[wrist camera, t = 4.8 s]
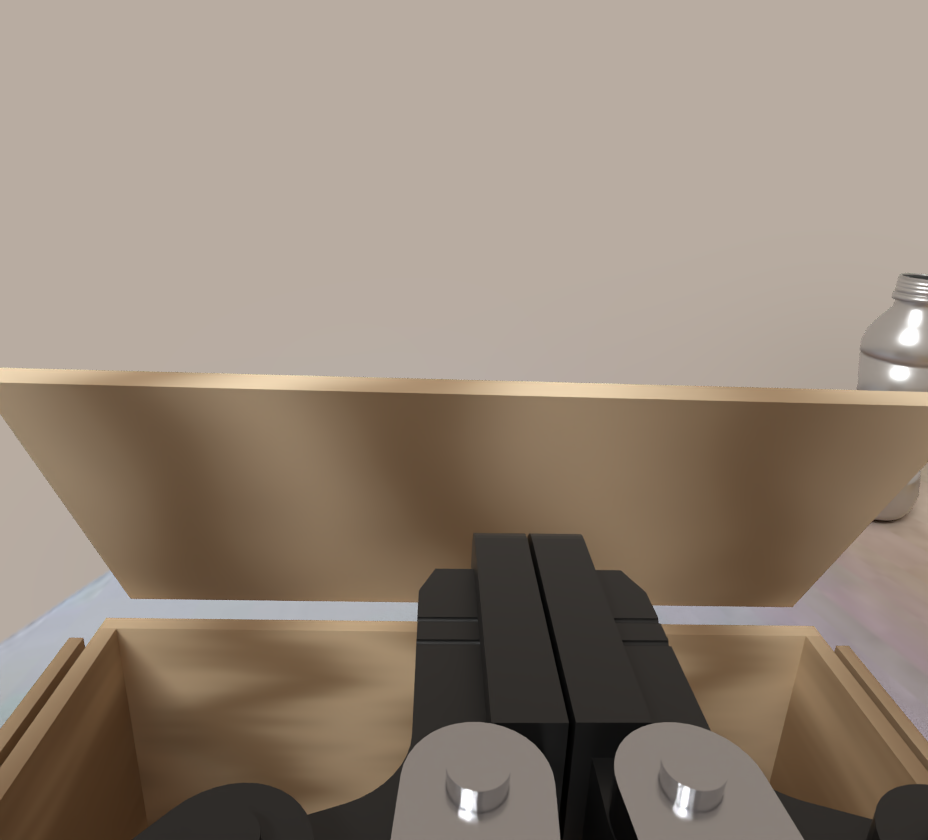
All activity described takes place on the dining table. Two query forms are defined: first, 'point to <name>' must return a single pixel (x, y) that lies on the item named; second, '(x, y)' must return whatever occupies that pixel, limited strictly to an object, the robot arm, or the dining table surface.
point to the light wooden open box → (383, 718)
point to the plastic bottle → (898, 361)
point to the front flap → (459, 478)
